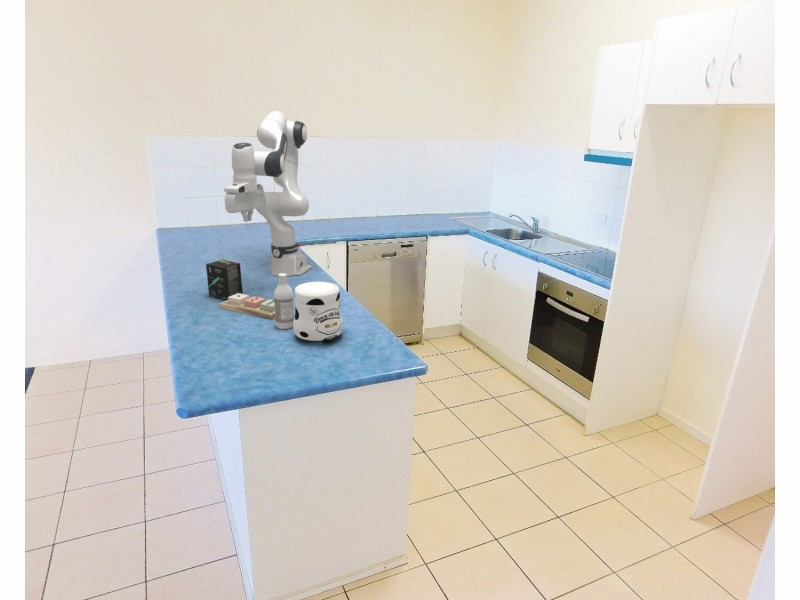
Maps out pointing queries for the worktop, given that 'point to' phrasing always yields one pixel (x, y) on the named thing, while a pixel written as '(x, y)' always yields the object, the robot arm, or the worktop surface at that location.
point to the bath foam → (283, 304)
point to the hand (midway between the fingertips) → (247, 221)
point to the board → (247, 310)
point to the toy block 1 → (238, 298)
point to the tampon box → (224, 279)
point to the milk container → (317, 312)
